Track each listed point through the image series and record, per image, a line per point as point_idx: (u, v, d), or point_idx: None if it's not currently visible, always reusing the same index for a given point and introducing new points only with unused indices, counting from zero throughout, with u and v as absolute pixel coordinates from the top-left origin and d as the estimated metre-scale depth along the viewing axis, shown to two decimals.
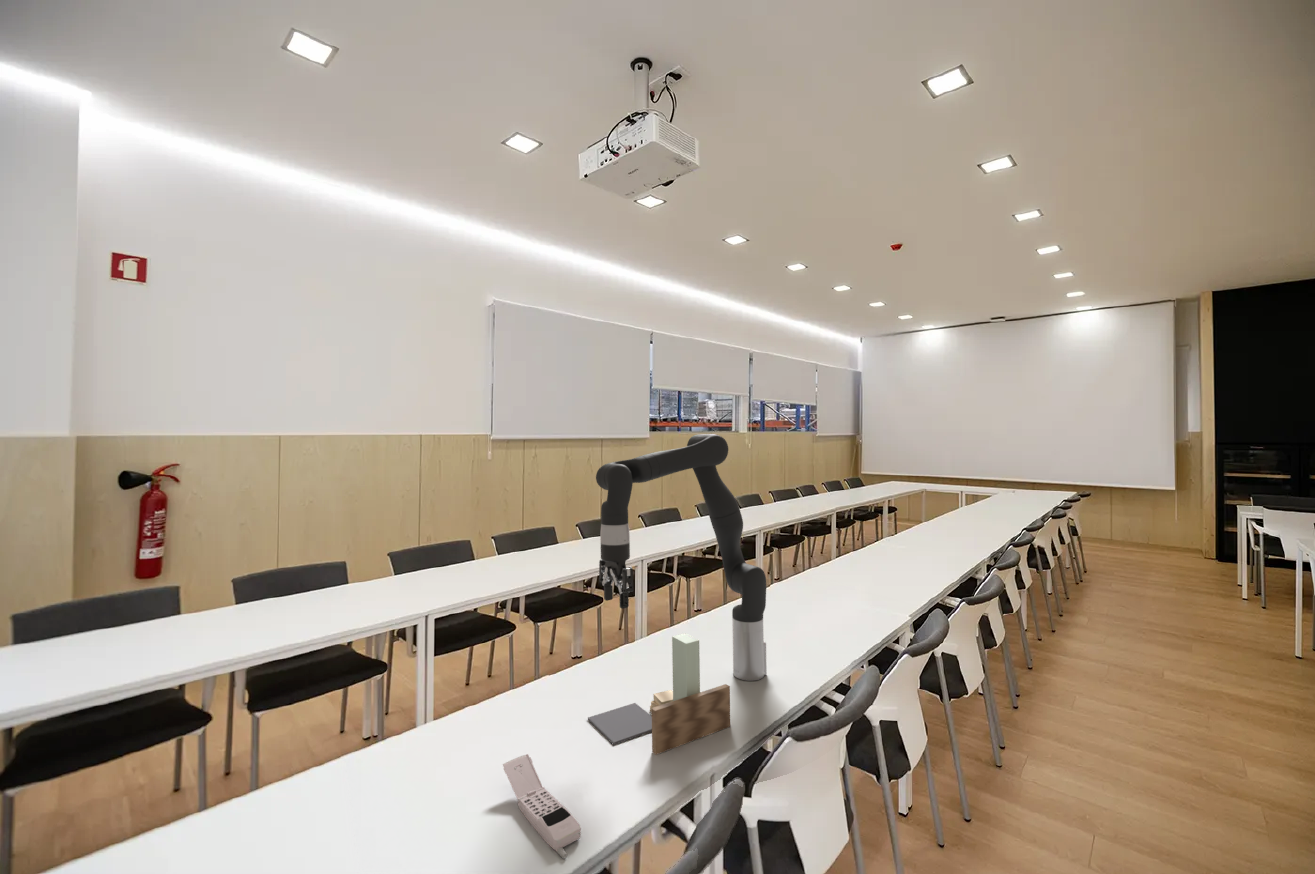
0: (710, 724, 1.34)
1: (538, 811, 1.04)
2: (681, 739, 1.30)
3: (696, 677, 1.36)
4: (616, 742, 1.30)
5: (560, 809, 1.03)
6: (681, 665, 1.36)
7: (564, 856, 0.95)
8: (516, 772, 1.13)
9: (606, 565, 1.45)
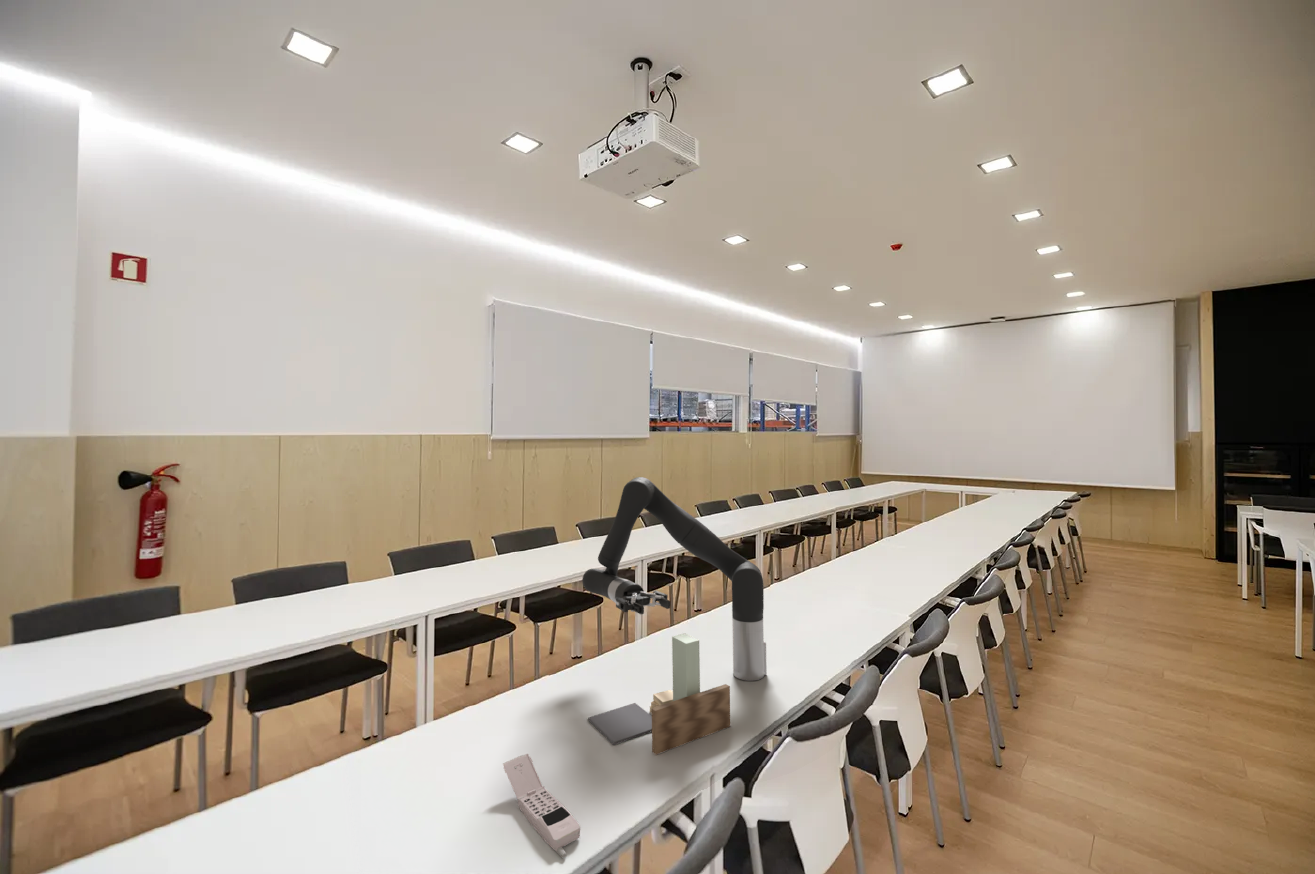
0: (710, 724, 1.34)
1: (538, 811, 1.04)
2: (681, 739, 1.30)
3: (696, 677, 1.36)
4: (616, 742, 1.30)
5: (560, 809, 1.03)
6: (681, 665, 1.36)
7: (563, 856, 0.95)
8: (516, 771, 1.13)
9: None
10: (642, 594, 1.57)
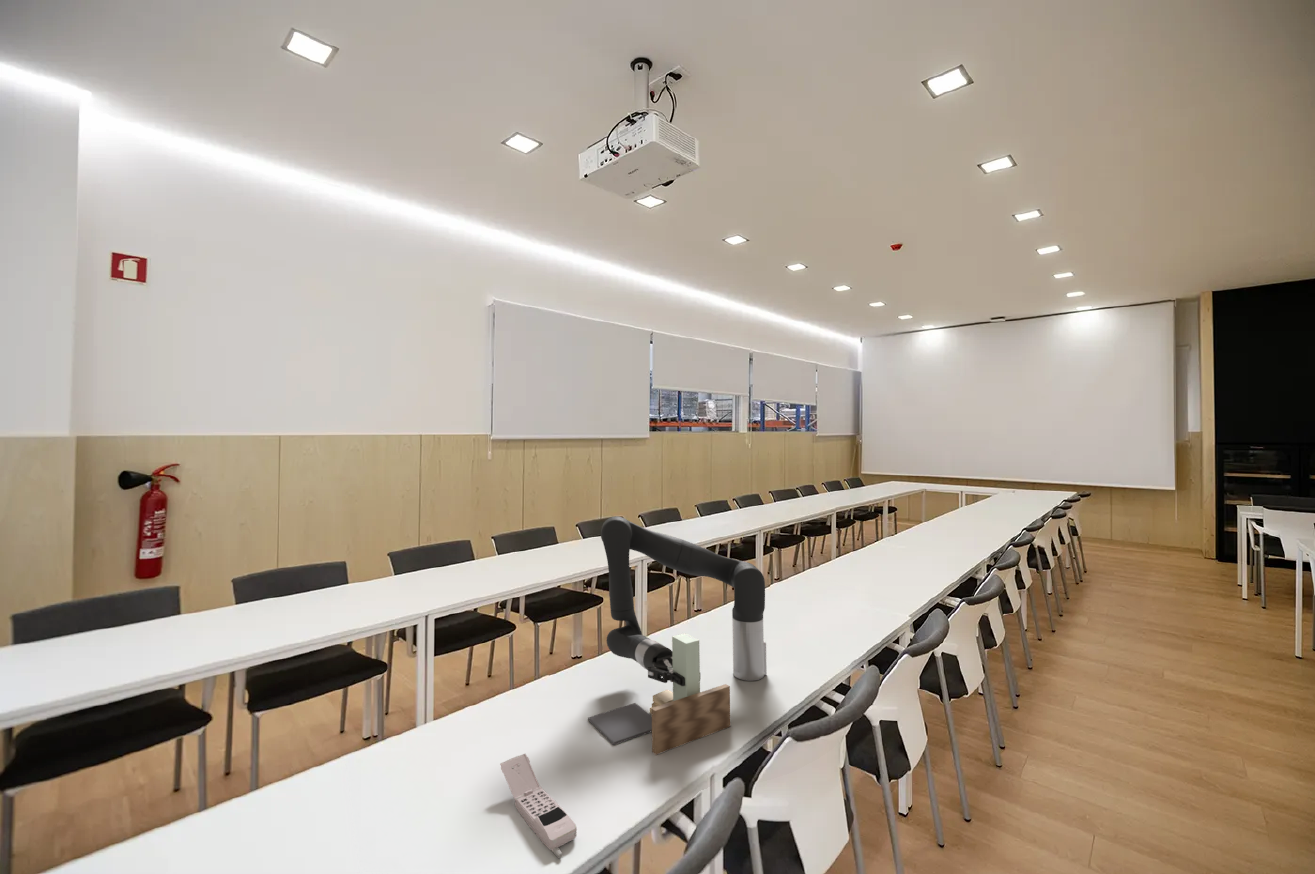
0: (710, 724, 1.34)
1: (534, 811, 1.04)
2: (681, 739, 1.30)
3: (696, 677, 1.36)
4: (616, 742, 1.30)
5: (556, 809, 1.03)
6: (681, 665, 1.36)
7: (559, 856, 0.95)
8: (513, 772, 1.13)
9: None
10: None
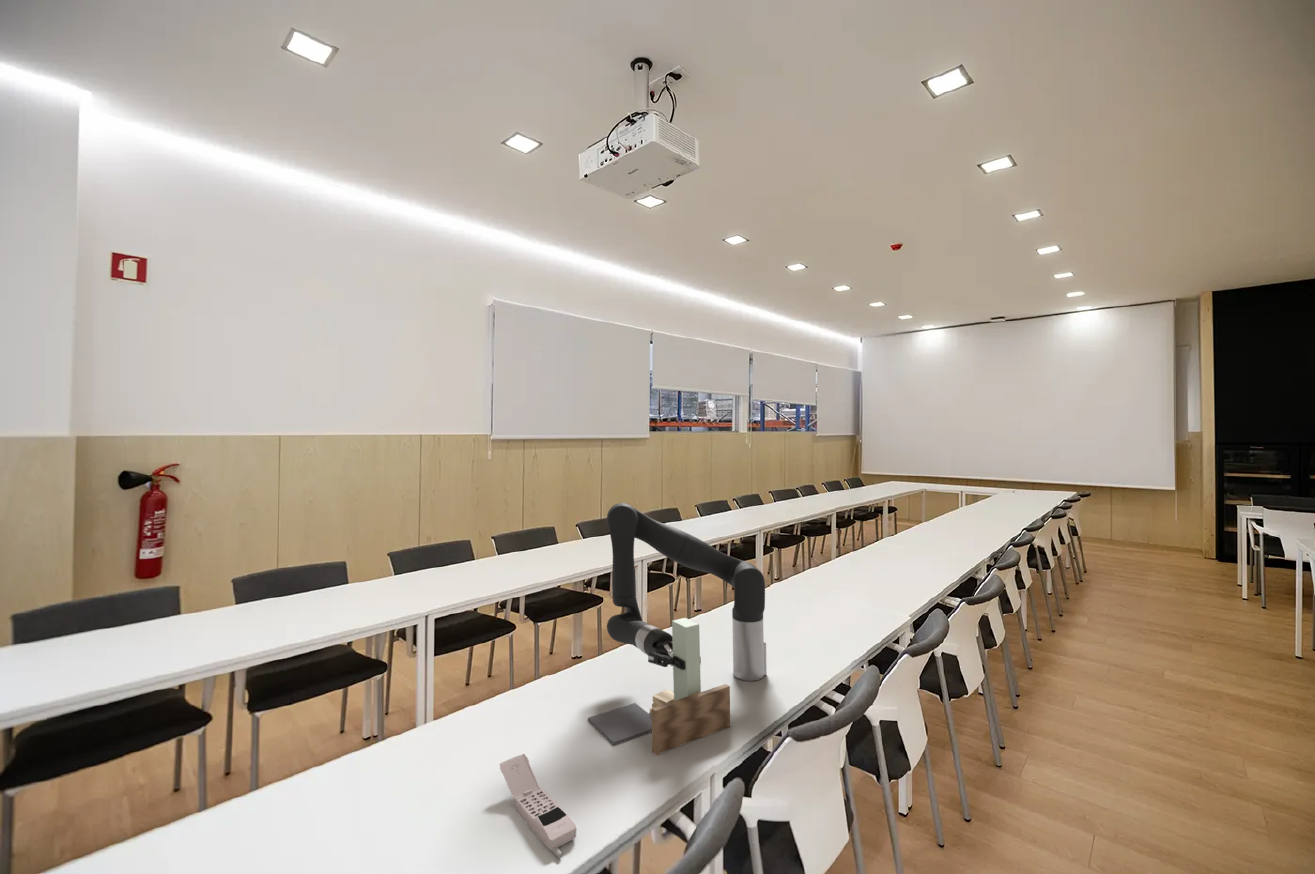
0: (710, 724, 1.34)
1: (534, 811, 1.04)
2: (681, 739, 1.30)
3: (696, 661, 1.36)
4: (616, 742, 1.30)
5: (556, 809, 1.03)
6: (681, 649, 1.36)
7: (559, 856, 0.95)
8: (513, 772, 1.13)
9: None
10: None
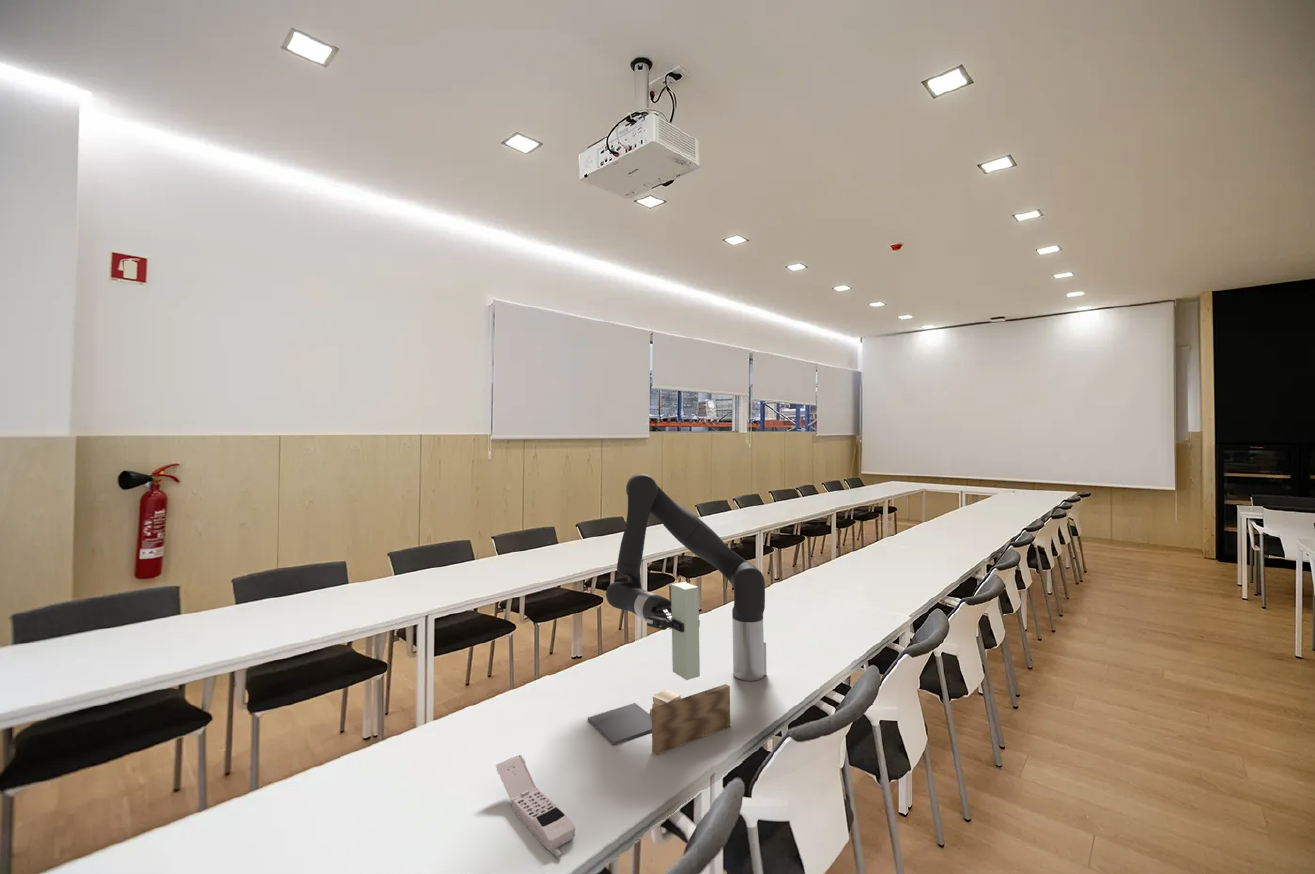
0: (710, 724, 1.34)
1: (532, 811, 1.04)
2: (681, 739, 1.30)
3: (695, 623, 1.36)
4: (616, 742, 1.30)
5: (554, 809, 1.03)
6: (680, 611, 1.36)
7: (559, 856, 0.95)
8: (509, 773, 1.13)
9: None
10: None
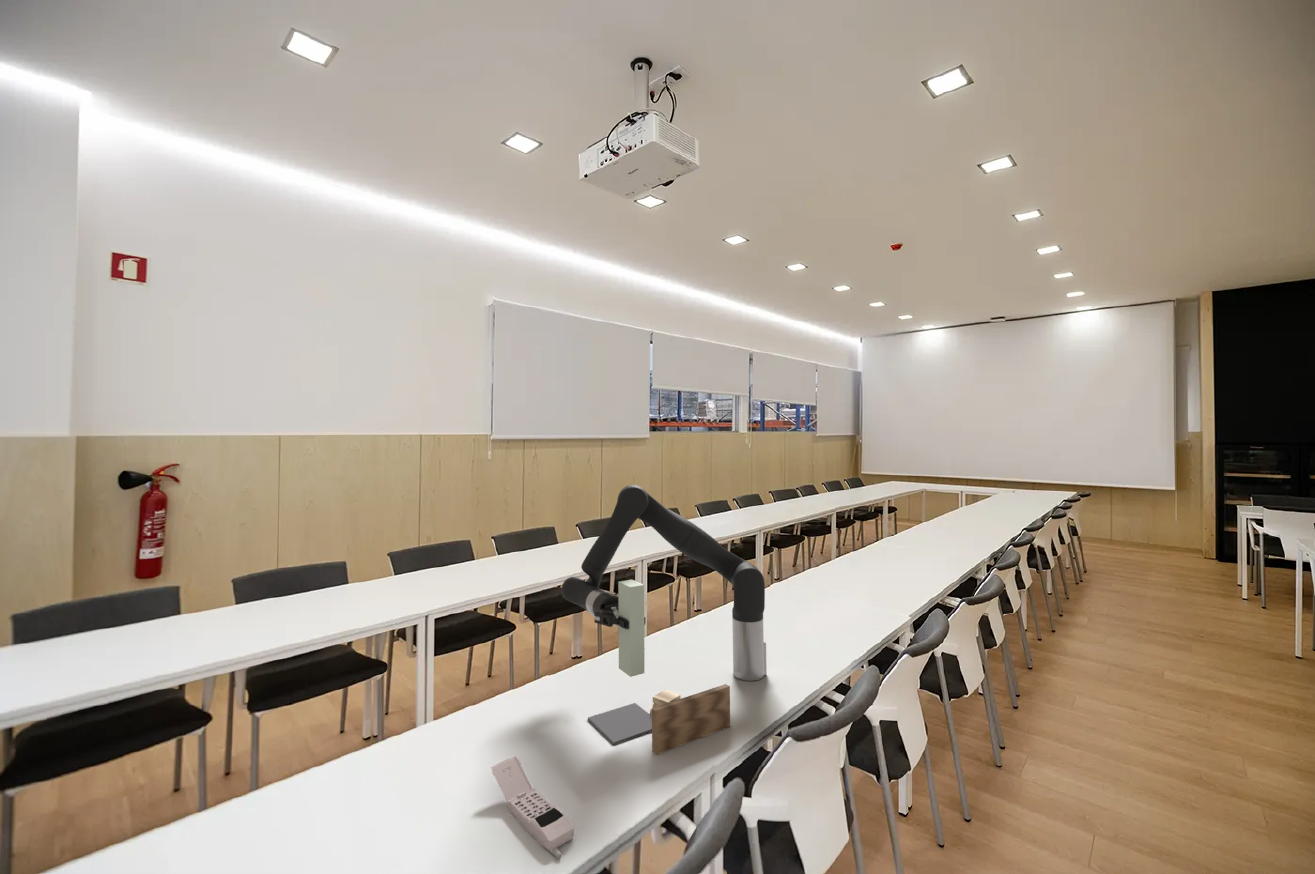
0: (710, 724, 1.34)
1: (530, 813, 1.03)
2: (681, 739, 1.30)
3: (640, 621, 1.37)
4: (616, 742, 1.30)
5: (552, 810, 1.03)
6: (625, 609, 1.37)
7: (559, 856, 0.95)
8: (505, 775, 1.12)
9: None
10: None
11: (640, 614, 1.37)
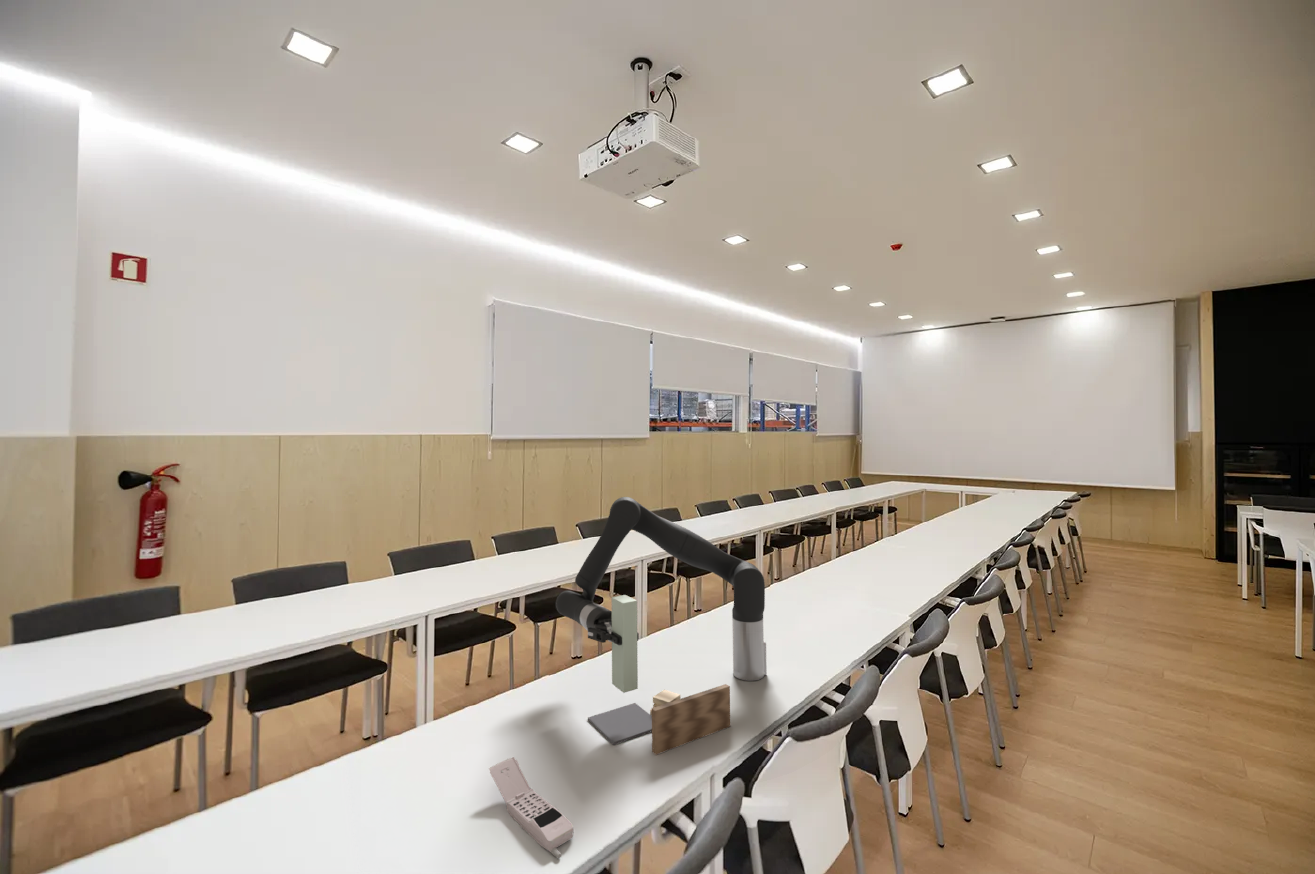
0: (710, 724, 1.34)
1: (528, 813, 1.03)
2: (681, 739, 1.30)
3: (633, 637, 1.37)
4: (616, 742, 1.30)
5: (551, 810, 1.03)
6: (618, 624, 1.38)
7: (558, 856, 0.95)
8: (503, 775, 1.12)
9: None
10: None
11: (633, 630, 1.37)
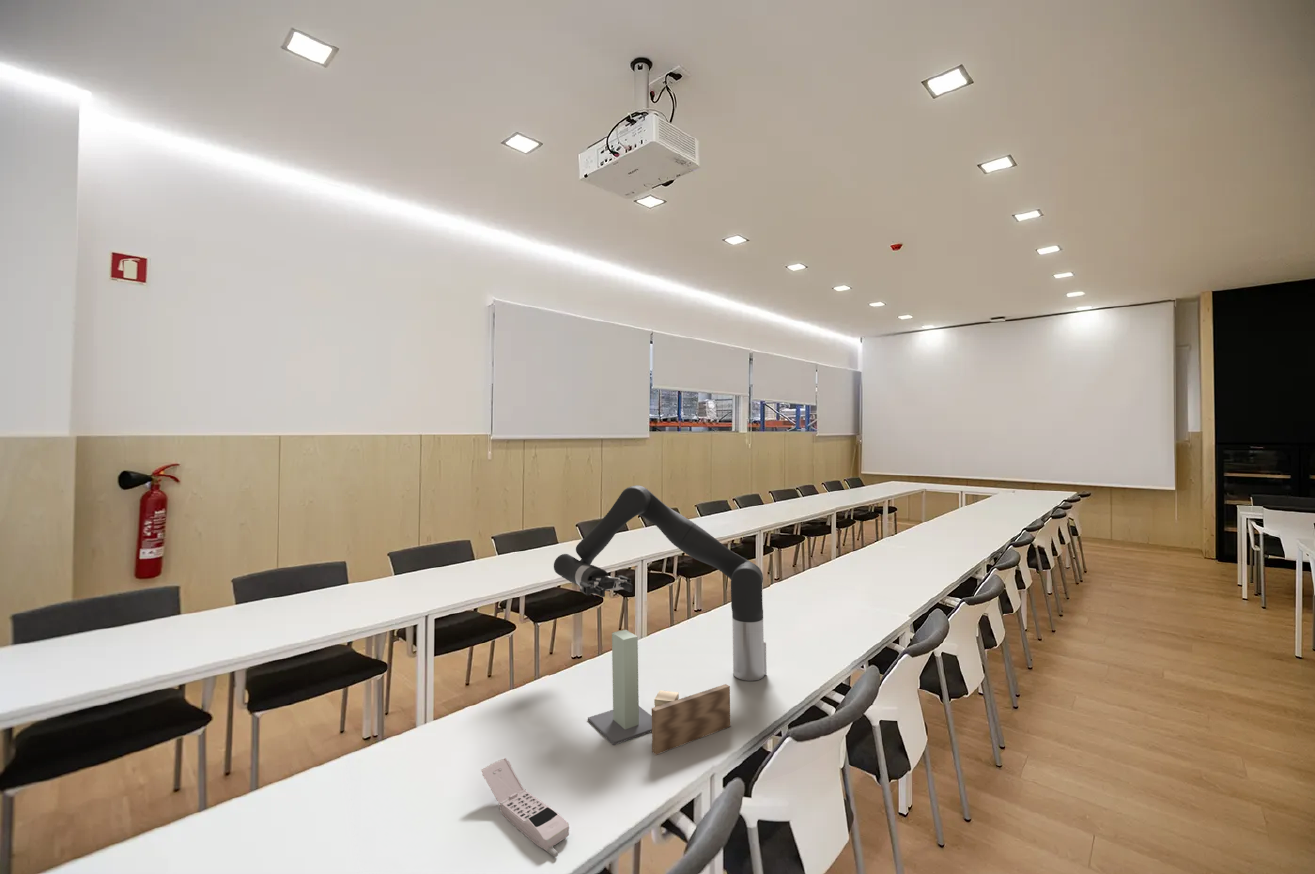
0: (710, 724, 1.34)
1: (523, 813, 1.03)
2: (681, 739, 1.30)
3: (634, 673, 1.37)
4: (616, 742, 1.30)
5: (546, 809, 1.03)
6: (619, 661, 1.38)
7: (555, 855, 0.95)
8: (495, 777, 1.12)
9: None
10: (606, 578, 1.60)
11: (634, 666, 1.37)
